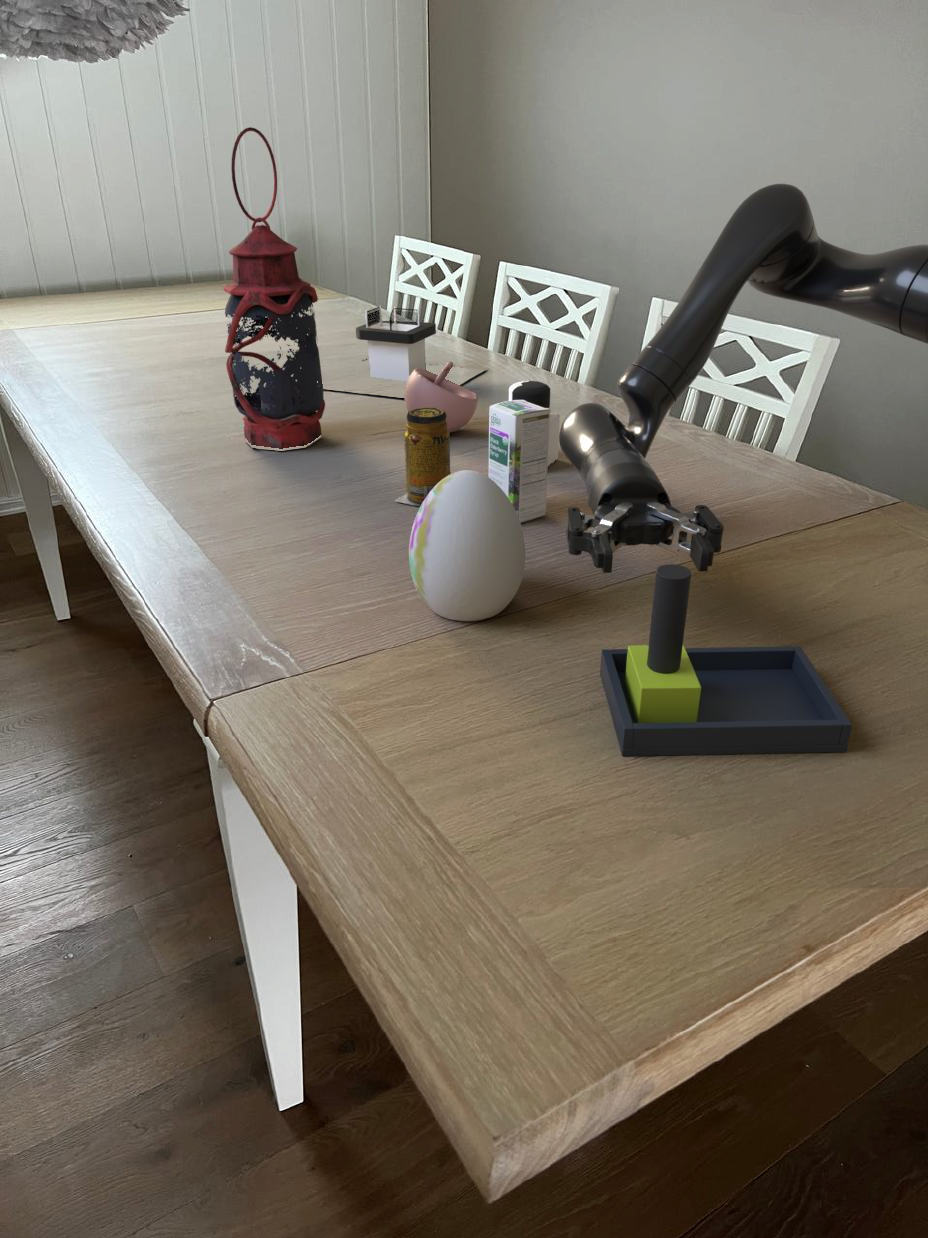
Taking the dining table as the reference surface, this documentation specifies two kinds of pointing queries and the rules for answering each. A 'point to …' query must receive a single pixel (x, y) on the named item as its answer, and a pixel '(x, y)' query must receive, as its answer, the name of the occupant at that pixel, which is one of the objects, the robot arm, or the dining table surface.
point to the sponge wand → (664, 657)
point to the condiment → (425, 453)
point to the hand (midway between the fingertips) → (656, 562)
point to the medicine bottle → (541, 397)
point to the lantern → (273, 335)
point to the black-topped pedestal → (395, 343)
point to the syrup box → (520, 454)
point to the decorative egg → (467, 548)
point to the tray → (736, 706)
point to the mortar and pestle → (440, 396)
